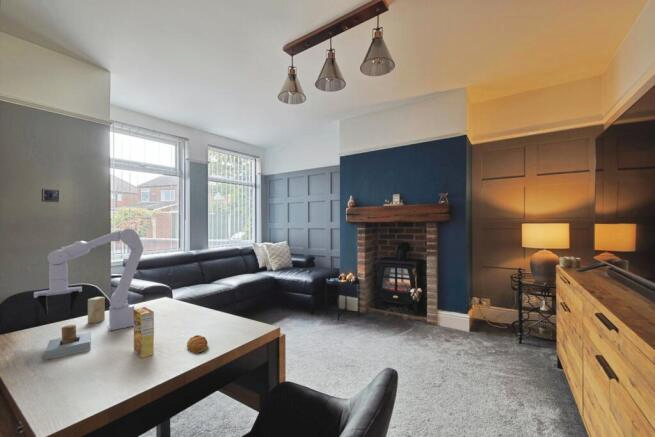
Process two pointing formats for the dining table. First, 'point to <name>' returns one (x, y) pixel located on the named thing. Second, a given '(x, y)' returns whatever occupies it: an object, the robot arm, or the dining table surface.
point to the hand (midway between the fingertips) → (59, 311)
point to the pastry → (197, 344)
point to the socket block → (68, 346)
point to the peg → (69, 334)
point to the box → (96, 309)
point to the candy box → (143, 332)
